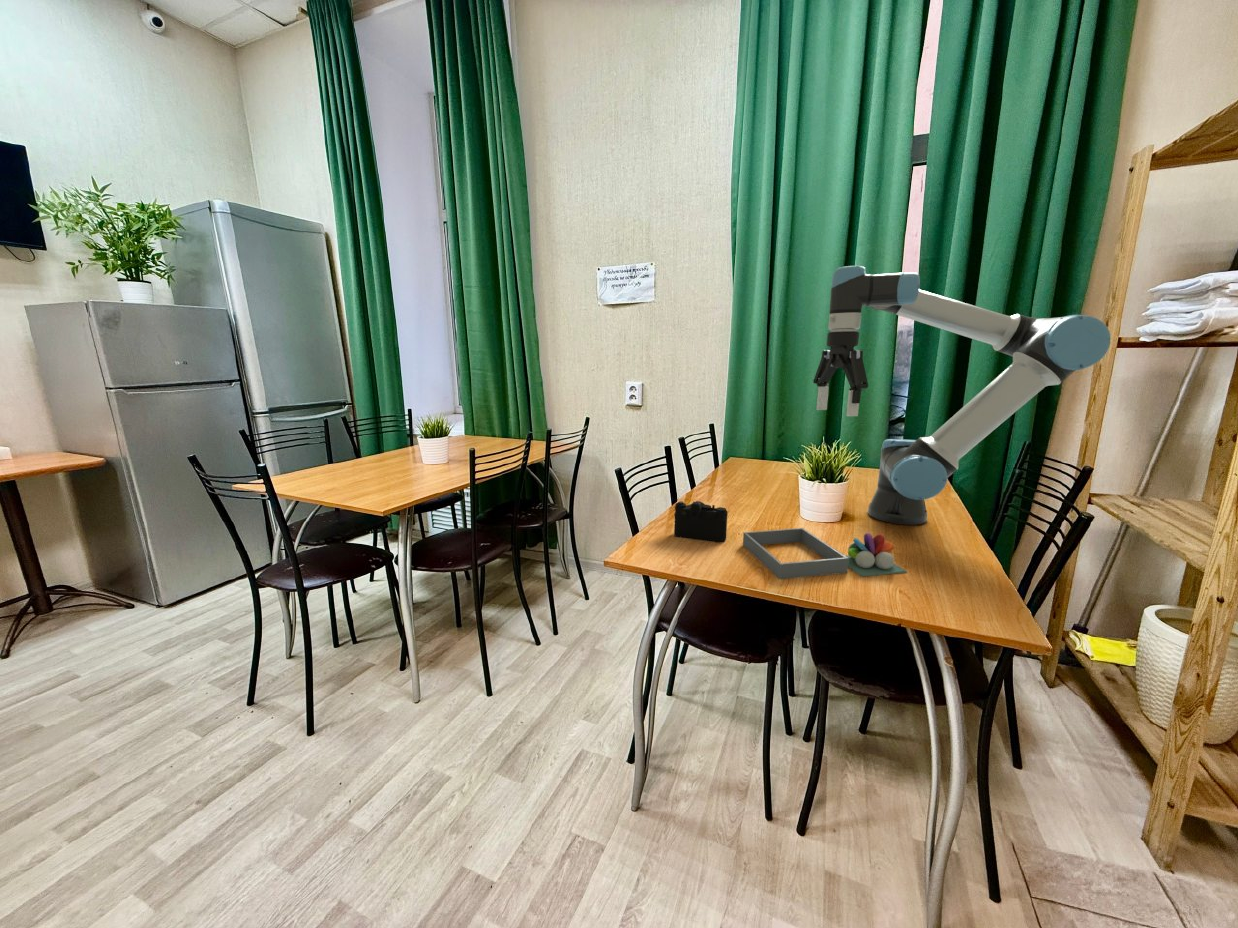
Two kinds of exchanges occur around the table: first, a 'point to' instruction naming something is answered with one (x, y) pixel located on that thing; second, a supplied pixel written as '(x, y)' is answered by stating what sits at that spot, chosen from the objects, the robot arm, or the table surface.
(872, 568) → the mat
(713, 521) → the camera
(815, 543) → the bin
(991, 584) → the table surface
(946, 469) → the robot arm
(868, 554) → the rainbow petal fan figurine
